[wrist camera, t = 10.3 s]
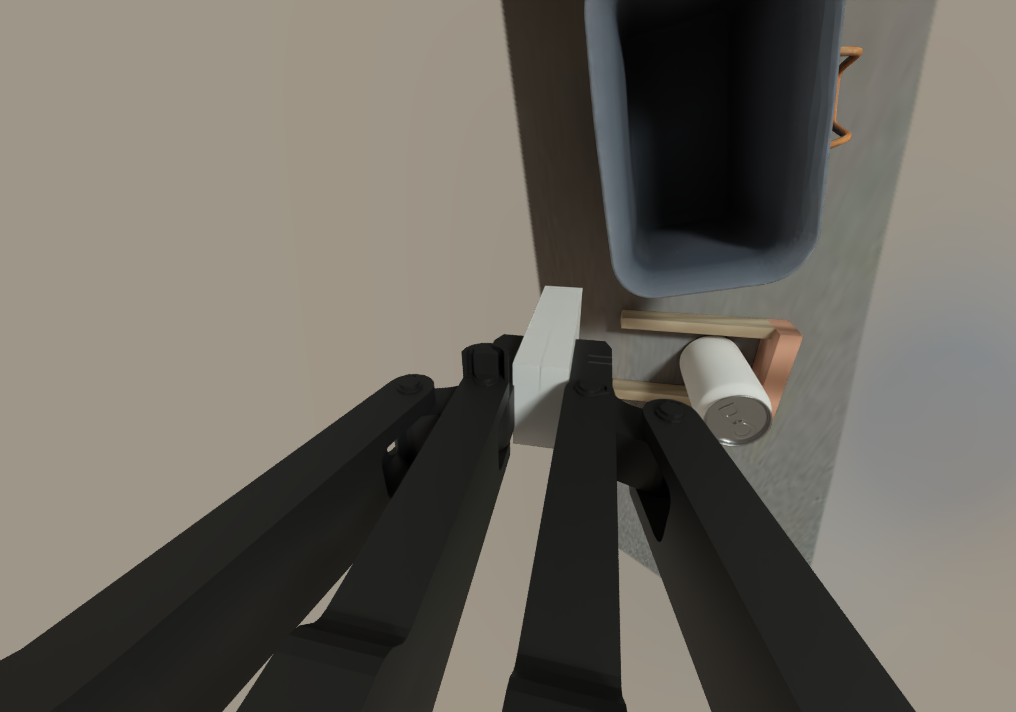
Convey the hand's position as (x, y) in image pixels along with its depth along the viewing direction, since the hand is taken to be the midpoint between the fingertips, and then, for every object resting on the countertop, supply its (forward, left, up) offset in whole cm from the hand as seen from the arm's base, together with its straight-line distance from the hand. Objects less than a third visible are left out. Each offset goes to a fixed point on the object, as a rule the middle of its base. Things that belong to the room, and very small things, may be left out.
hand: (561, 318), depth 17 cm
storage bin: (-7, +8, -30) cm, 31 cm away
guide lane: (+16, +12, -29) cm, 36 cm away
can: (+16, +15, -30) cm, 37 cm away
